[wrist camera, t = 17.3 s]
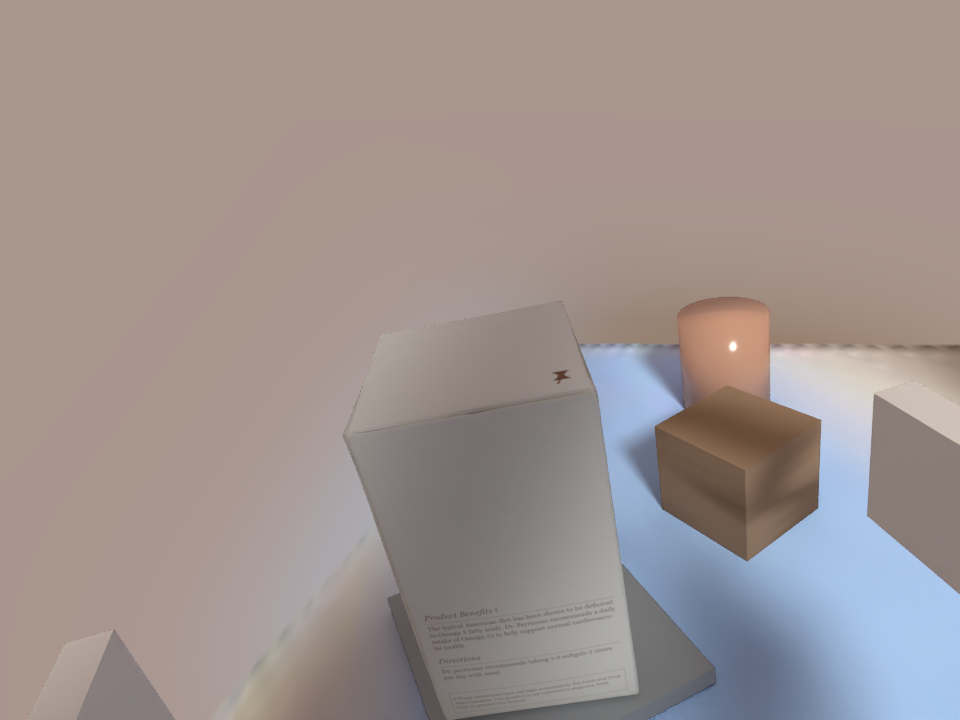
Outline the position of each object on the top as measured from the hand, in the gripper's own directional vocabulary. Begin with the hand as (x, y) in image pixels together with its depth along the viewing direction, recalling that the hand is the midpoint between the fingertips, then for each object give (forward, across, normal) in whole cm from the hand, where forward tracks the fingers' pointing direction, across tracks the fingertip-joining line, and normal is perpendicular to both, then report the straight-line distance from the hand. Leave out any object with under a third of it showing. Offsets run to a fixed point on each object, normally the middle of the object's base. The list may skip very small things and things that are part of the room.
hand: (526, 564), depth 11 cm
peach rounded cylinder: (+23, +16, -15) cm, 32 cm away
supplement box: (+10, 0, -14) cm, 17 cm away
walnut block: (+14, +12, -15) cm, 24 cm away
